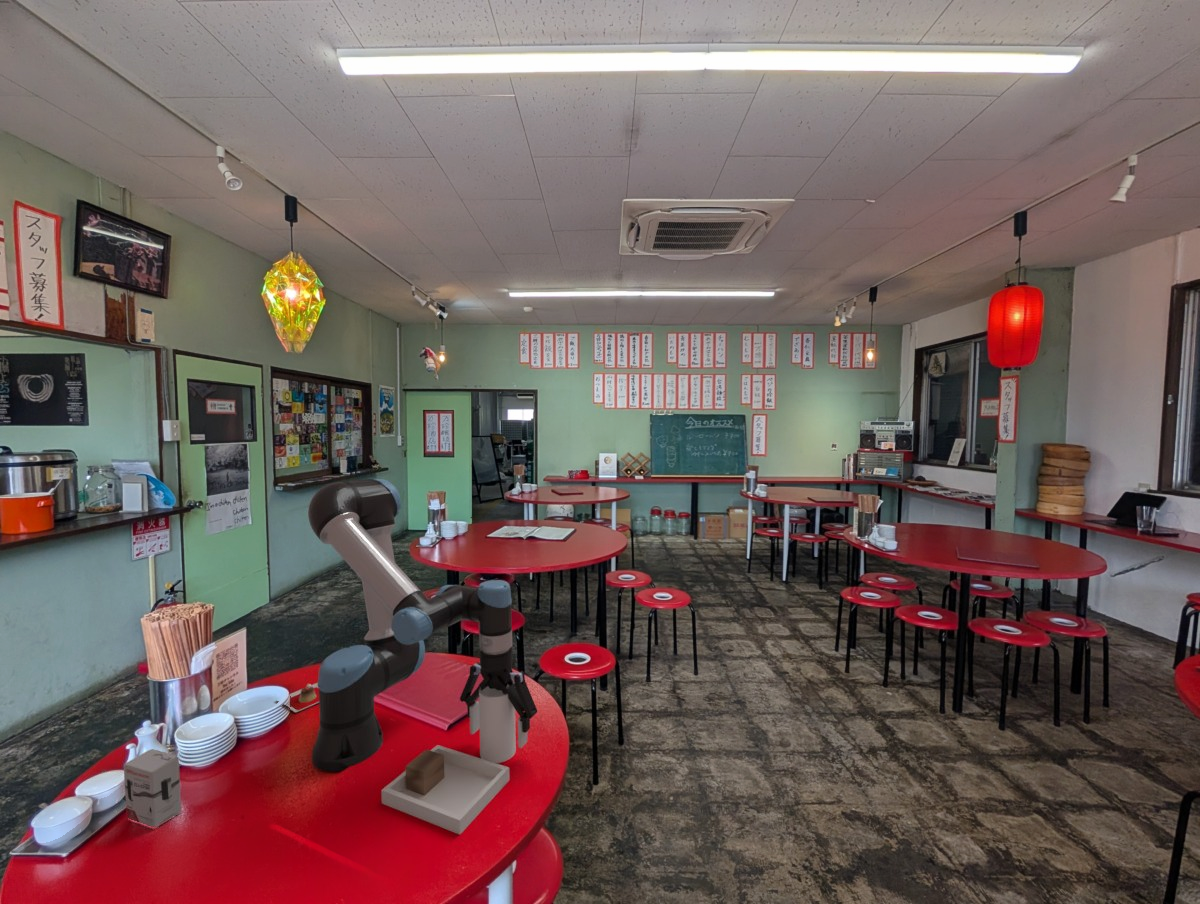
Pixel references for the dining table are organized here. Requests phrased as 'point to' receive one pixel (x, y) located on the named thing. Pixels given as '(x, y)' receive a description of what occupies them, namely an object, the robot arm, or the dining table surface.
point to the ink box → (152, 787)
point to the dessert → (305, 695)
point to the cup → (496, 726)
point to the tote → (451, 791)
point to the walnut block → (424, 772)
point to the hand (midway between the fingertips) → (498, 737)
